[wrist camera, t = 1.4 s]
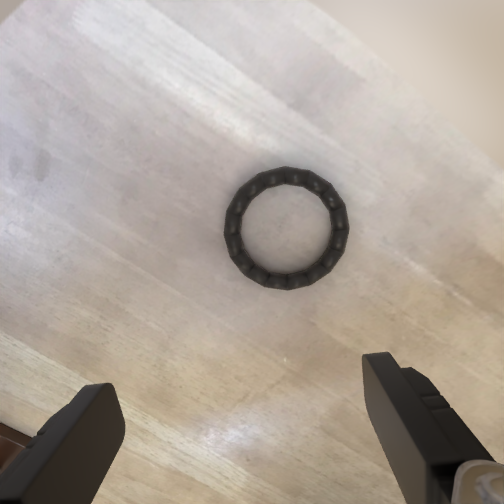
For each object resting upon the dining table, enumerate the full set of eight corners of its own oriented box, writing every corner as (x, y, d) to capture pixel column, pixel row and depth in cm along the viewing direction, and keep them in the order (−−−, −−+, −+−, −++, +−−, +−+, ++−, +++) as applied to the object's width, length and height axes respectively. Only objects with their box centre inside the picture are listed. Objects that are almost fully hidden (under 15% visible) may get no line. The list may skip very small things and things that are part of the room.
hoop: (204, 249, 24) (201, 253, 23) (265, 143, 22) (265, 141, 20) (302, 305, 25) (304, 312, 24) (370, 209, 22) (376, 211, 21)
